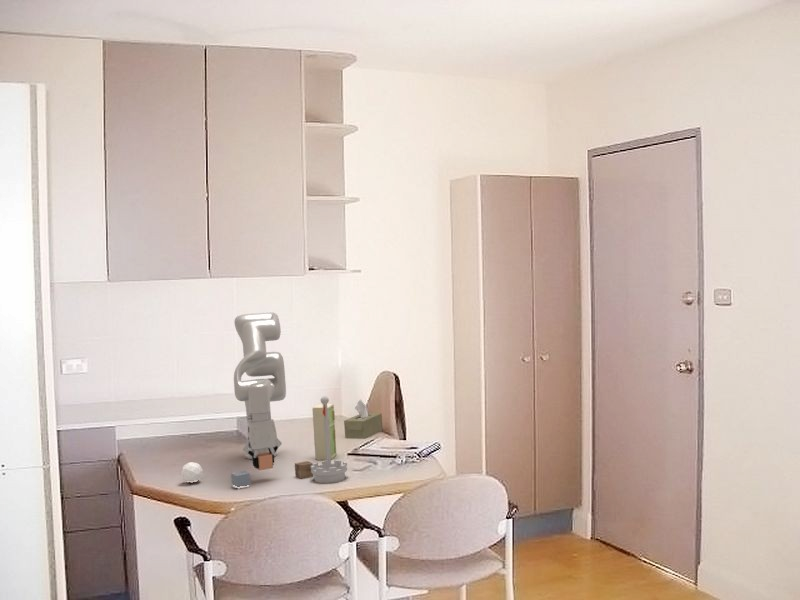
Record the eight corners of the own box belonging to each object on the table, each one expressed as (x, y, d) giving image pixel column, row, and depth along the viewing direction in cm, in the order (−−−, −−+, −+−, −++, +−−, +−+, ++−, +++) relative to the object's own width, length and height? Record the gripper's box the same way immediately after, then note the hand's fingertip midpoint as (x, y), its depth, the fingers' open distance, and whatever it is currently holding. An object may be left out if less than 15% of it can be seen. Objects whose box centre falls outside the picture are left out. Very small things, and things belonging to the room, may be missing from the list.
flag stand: (315, 475, 332) (310, 394, 331) (350, 473, 331) (345, 392, 329) (308, 484, 319) (302, 400, 318) (344, 482, 318) (339, 398, 316)
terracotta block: (255, 467, 330) (254, 454, 329) (267, 465, 332) (266, 452, 332) (260, 470, 325) (259, 456, 325) (272, 467, 328) (272, 454, 328)
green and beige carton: (333, 460, 355) (329, 407, 354) (315, 460, 357) (311, 407, 356) (338, 455, 363) (335, 403, 362) (321, 455, 364) (317, 404, 363)
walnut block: (295, 476, 332) (294, 463, 332) (308, 474, 334) (307, 460, 334) (300, 479, 328) (300, 465, 327) (313, 476, 330) (312, 463, 330)
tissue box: (364, 430, 414) (361, 395, 413) (383, 430, 410) (381, 396, 409) (344, 438, 397) (342, 403, 396) (364, 439, 392) (362, 403, 392)
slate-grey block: (232, 487, 322) (231, 473, 322) (245, 484, 325) (244, 470, 324) (237, 489, 318) (236, 475, 317) (250, 487, 320) (249, 473, 320)
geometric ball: (187, 490, 331) (174, 473, 332) (204, 478, 336) (191, 461, 337) (192, 484, 326) (179, 466, 327) (209, 472, 331) (196, 454, 332)
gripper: (241, 422, 320) (245, 472, 321) (286, 415, 329) (289, 464, 330) (234, 419, 327) (238, 468, 328) (278, 412, 335) (281, 460, 336)
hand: (263, 465), depth 329 cm, fingers closed on terracotta block, 5 cm apart
